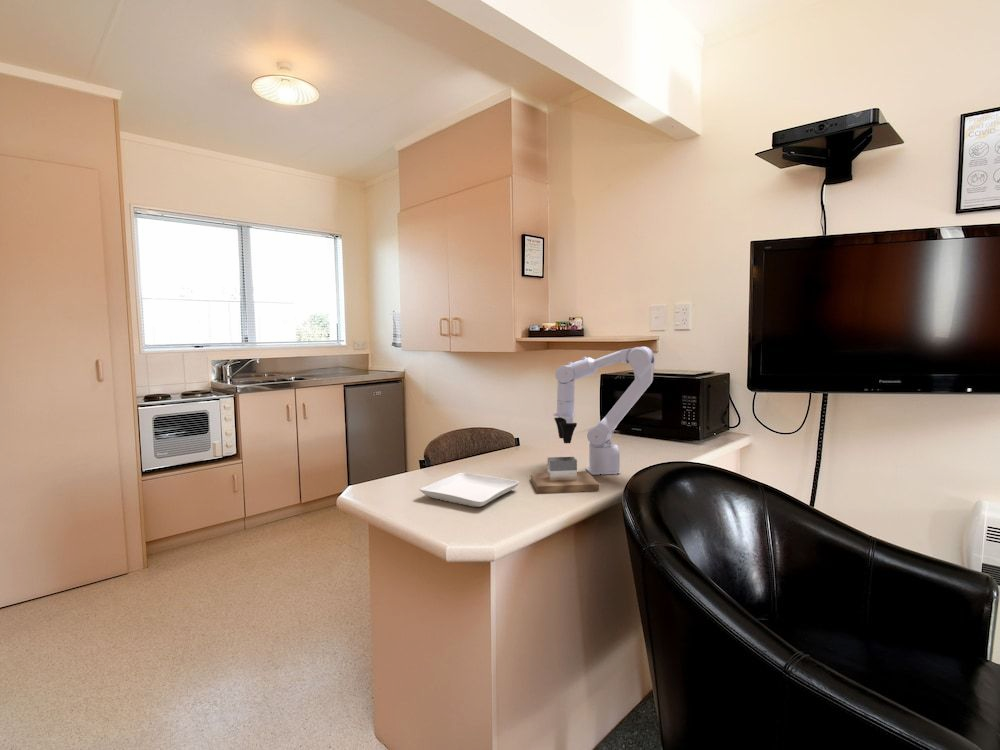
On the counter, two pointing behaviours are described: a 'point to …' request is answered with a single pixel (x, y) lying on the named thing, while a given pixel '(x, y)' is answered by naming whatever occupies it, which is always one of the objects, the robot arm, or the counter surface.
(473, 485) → the salad plate
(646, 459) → the counter surface
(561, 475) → the housing
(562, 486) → the walnut board
